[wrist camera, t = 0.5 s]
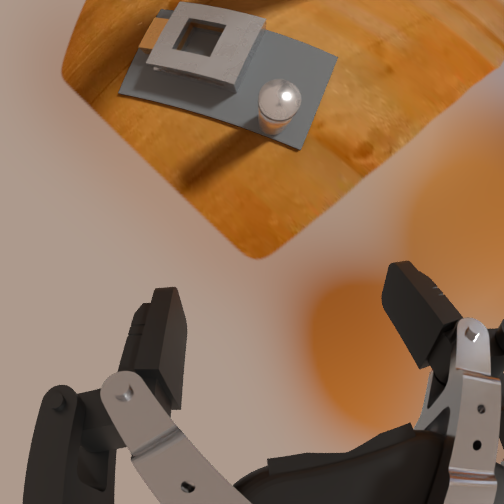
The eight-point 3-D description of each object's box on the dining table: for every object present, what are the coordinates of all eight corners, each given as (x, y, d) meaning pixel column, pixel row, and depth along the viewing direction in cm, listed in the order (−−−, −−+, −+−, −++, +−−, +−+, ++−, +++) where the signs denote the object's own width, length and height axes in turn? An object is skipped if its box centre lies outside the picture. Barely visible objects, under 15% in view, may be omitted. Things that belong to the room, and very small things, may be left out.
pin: (264, 104, 31) (267, 72, 20) (291, 114, 32) (307, 88, 20) (253, 129, 32) (251, 108, 21) (281, 140, 32) (293, 124, 21)
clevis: (168, 12, 27) (160, -1, 23) (265, 32, 28) (266, 18, 24) (138, 69, 30) (126, 60, 26) (236, 93, 31) (234, 84, 27)
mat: (161, 10, 27) (160, 9, 27) (337, 58, 29) (338, 57, 29) (119, 93, 31) (118, 92, 31) (300, 150, 33) (300, 150, 33)
